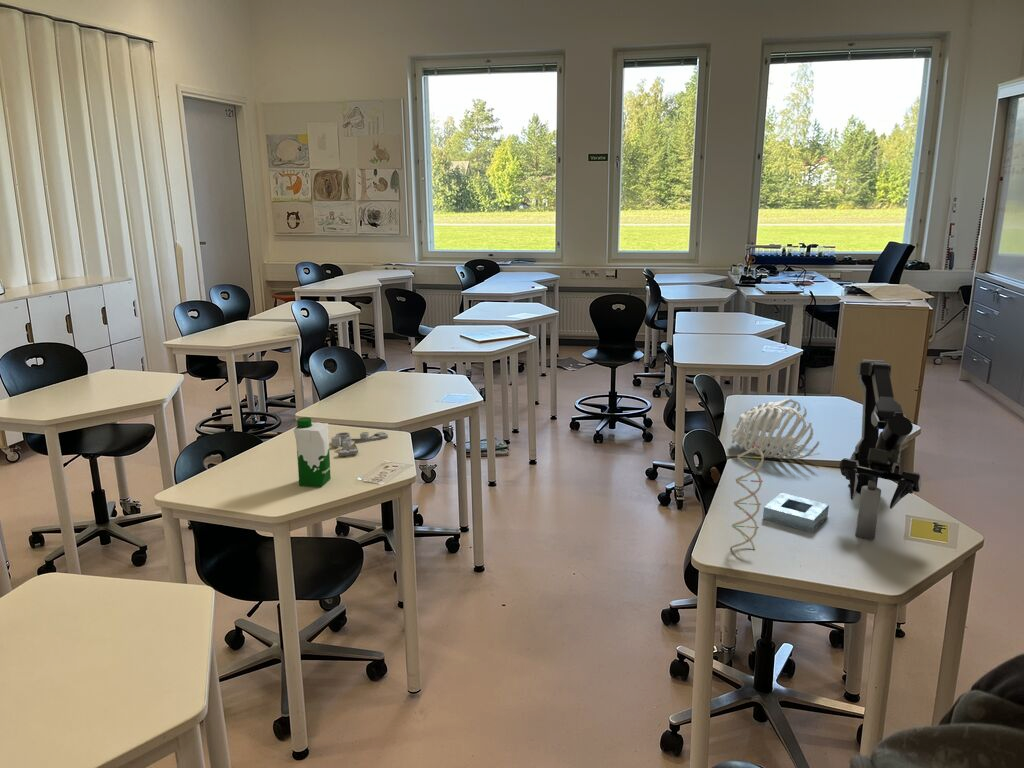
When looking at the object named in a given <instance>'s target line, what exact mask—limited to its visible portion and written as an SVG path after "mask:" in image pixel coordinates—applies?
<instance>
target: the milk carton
mask: <svg viewBox="0 0 1024 768" xmlns="http://www.w3.org/2000/svg"><path fill="white" fill-rule="evenodd" d="M296 421H297V422H296V424H297V425H296V427H295V428H294V429H293V433H294V438H295V443H296V455H297V456H296V458H297V468H298V469H297V470H298V484H299V485H298V486H299V487H308V488H323V487H324V486H326V484H327V483H328V482H329V481H330V480H331V456H330V441H329V423H326V422H325V423H322V422H313V421H312V418H311V417H299V418H298V419H297V420H296Z"/></svg>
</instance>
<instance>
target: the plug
mask: <svg viewBox="0 0 1024 768" xmlns="http://www.w3.org/2000/svg"><path fill="white" fill-rule="evenodd" d="M881 494H882V489H881V488H879V487H878V486H877V487H876V481H873V480H869V481H868V486H862V488H861V494H860V498H859V504H858V512H857V518H856V519H857V521H856V527H855V528H856V529H855V537H856V538H857V539H860V540H864V541H873V540H875V539H876V533H877V526H878V525H877V524H878V518H879V512H880V511H879V510H880V502H881Z"/></svg>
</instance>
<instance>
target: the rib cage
mask: <svg viewBox="0 0 1024 768" xmlns="http://www.w3.org/2000/svg"><path fill="white" fill-rule="evenodd" d="M789 403H792V405H791V406H786V405H789ZM796 406H797V407H796ZM802 406H803V409H804V412H803V414H801V412H800V411H801V410H802V409H801V403H799V402H798V401H796V400H794V399H792V398H784V399H782V400H781V401H775V402H774V401H769V402H768V403H766V402H763V403H760V404H759V405H755V406H753V407H752V408H751V409H747V410H746V411H744V413H741V414H739V417H738V421H737V423H736V424H735V426H734V427H733V429H732V430H731V435H730V436H731V437H732V439H731V444H734V443H737V446H738V447H740V448H744V449H745V451H748V450H750V449H753V448H754V446H753V445H752V444H751V443H749V442H748V441H746V440H745V439H744V438H742V437H741V436H740V432H741V433H742V435H743V436H744V437H746V438H748V439H749V440H750V441H751V442H752V443H754V444H755V445H758V444H760V443H761V442H762V441H763V437H764V434H767V433H768V434H767V436H766V438H765V442H764V443H763V444H762V445H761V446H760V447H759V449H760V450H761V451H762V453H763V456H764V458H765V457H767V458H769V459H771V458H775V459H783V460H788V459H791V460H799V459H804V458H807V457H811V456H812V457H813V456H815V455H816V456H817V455H820V452H816V453H813V452H814V451H815V450H817V448H818V447H819V445H820V441H817V442H816V443H815V445H814V446H813V447H812V448H811V449H810V451H808V452H807V453H804V452H803V453H802V451H803V450H805V448H806V447H807V445H808V444H809V443H810V441H812V440H813V436H814V429H813V427H812V422H809V421H807V422H806V421H805V418H806V417H807V414H808V412H807V409H806V407H805V406H804V405H802ZM785 416H786V417H785ZM794 416H796V418H795V421H794V423H793V425H792V426H791V427H790V429H789V431H788V432H787V433H786V434H785V436H782V435H783V432H784V430H785V429H786V427H787V426H788V425H789V423H790V422H791V420H792V419H793V417H794ZM784 417H785V419H784V421H783V418H784ZM782 421H783V423H782ZM781 423H782V425H781ZM801 423H802V427H801V429H800V430H799V432H798V433H797V435H794V433H795V432H796V430H797V428H798V427H799V425H800V424H801ZM807 423H808V426H807ZM779 428H780V429H779ZM776 429H777V430H778V429H779V430H778V432H777V433H776V436H773V435H774V432H775V431H776ZM809 430H810V432H809V435H808V437H807V439H806V440H805V441H803V443H800V441H802V439H803V438H804V436H805V435H806V434H807V432H808V431H809ZM799 443H800V444H799ZM797 444H798V445H797ZM792 452H793V453H792ZM791 453H792V454H791ZM750 454H755V455H757V456H758V455H760V453H759V451H758V450H757V449H755V450H754V451H752V452H750ZM760 456H761V455H760ZM797 456H798V457H797Z"/></svg>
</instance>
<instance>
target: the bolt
mask: <svg viewBox="0 0 1024 768" xmlns="http://www.w3.org/2000/svg"><path fill="white" fill-rule="evenodd" d="M711 467H712V468H711V469H710V472H711V477H712V479H713V481H714V483H715V484H714V485H716V484H717V483H718V481H719V480H720V478H721V474H720V471H719V470H718V468H716V467H715V466H711Z"/></svg>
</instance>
